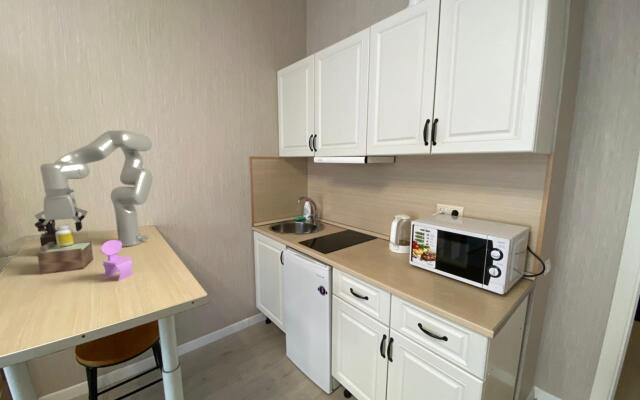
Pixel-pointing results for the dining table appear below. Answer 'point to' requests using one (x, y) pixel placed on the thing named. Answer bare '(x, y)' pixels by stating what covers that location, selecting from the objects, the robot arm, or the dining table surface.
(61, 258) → the box
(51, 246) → the lid
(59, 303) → the dining table surface
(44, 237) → the brown manual coffee grinder
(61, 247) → the supplement bottle
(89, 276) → the dining table surface
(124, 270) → the toy chair
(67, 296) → the dining table surface
